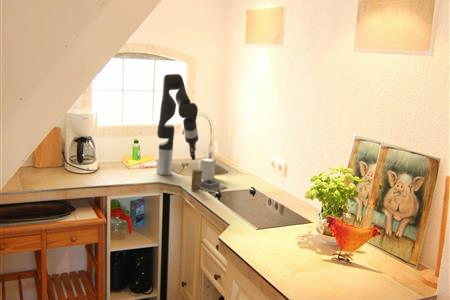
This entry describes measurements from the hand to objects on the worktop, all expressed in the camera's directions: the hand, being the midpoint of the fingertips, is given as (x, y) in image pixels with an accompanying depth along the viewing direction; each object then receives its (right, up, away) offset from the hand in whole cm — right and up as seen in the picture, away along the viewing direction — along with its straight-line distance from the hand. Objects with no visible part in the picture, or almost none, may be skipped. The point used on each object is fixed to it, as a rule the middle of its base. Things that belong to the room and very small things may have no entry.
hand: (193, 154), depth 278 cm
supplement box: (+6, -16, +35) cm, 39 cm away
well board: (+8, -21, +16) cm, 27 cm away
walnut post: (+1, -22, +7) cm, 23 cm away
